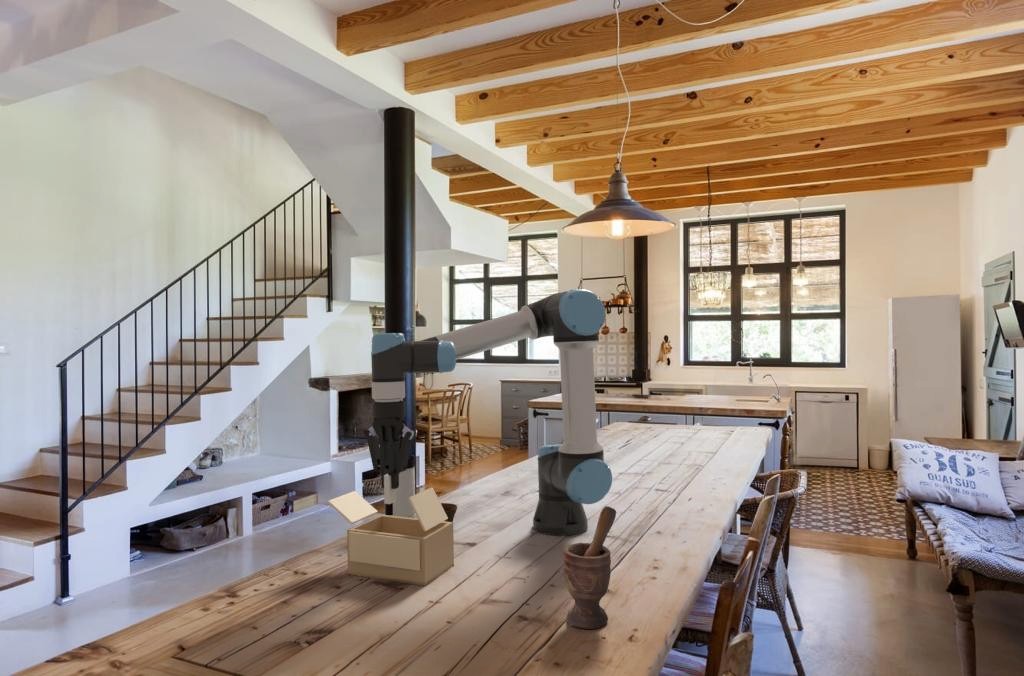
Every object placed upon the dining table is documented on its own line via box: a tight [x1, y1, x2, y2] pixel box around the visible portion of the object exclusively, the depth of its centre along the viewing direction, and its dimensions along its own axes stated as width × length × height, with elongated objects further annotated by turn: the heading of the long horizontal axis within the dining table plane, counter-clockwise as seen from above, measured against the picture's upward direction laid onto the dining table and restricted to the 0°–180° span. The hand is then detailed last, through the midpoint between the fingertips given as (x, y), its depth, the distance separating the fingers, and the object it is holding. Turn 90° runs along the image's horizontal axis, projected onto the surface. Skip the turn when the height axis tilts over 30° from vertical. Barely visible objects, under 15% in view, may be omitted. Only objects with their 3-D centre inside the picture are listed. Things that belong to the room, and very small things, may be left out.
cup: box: [440, 502, 458, 523], centre depth 162 cm, size 9×9×10 cm
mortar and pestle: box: [562, 505, 617, 630], centre depth 117 cm, size 12×9×20 cm
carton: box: [346, 514, 455, 587], centre depth 143 cm, size 20×14×10 cm
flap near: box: [408, 486, 448, 532], centre depth 140 cm, size 10×1×8 cm
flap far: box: [327, 490, 379, 525], centre depth 148 cm, size 10×1×8 cm
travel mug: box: [392, 454, 416, 518], centre depth 177 cm, size 6×7×20 cm
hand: (390, 502), depth 144 cm, fingers closed
